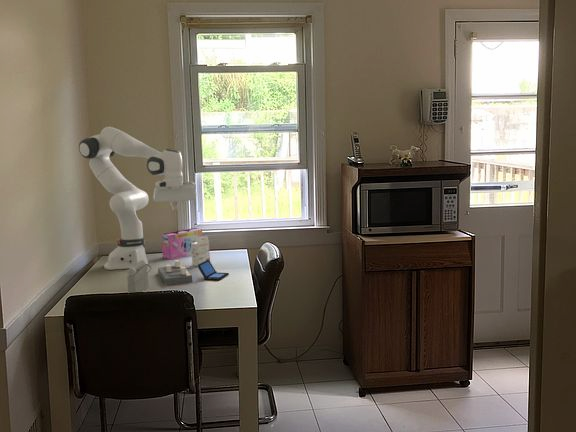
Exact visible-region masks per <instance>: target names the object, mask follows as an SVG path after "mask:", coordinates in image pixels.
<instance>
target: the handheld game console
mask: <svg viewBox="0 0 576 432" xmlns="http://www.w3.org/2000/svg"><path fill="white" fill-rule="evenodd" d="M196 267H197V268H198V270H199V272H200V273H201V275H202V276H203V281H213V282H219V281H220V280H222V279H225V278H226V277H228V276H229V275H230V274H229V272H217V270H216V269H215V267H214V265H213V263H212V262H211V260H210V261H209V260H207V261H204V262H202V263H200V264H198V265H197V266H196Z"/></svg>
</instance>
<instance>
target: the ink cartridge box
mask: <svg viewBox="0 0 576 432" xmlns="http://www.w3.org/2000/svg"><path fill="white" fill-rule="evenodd" d="M202 238H203V240H201V239H202ZM191 252H192V255H191V262H192V266H196V267H198V266H197V265H198V264H200V263H202V262H204V261H207V260H209V261H210V262H211V256H210V240H209V236H208V235H204V236H203V237H199V238H197V242H194V243H191Z"/></svg>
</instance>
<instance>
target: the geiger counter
mask: <svg viewBox="0 0 576 432" xmlns="http://www.w3.org/2000/svg"><path fill="white" fill-rule="evenodd" d="M144 264H145V262H144V261H143V260H141V261H140V262H139V263H137V264H136V265H134V267H131V268H128V270H127V277H126V278H127V289H128V290H127V291H128V293H129V292H143V291H146V290H147V289H148V288H149V289H150V284H149V273H150V272H151V271H152V266H151V265H149V263H148V264H145V265H144ZM148 267H149V268H150V269H149V270H148Z"/></svg>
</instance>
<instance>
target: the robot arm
mask: <svg viewBox="0 0 576 432" xmlns="http://www.w3.org/2000/svg"><path fill="white" fill-rule="evenodd" d="M78 151H79V154H80V155H81V157H83V158H85V159H87V160H88V159H89V162H88V166H89V168H90V170H91V172H92V173H93V175H94V176H95V178H96V179H97V180H98V181H99V182H100V184H101V185H102V187H104V189H105V190H106V191H107V192H108V193H111V194H113V195H112V196H111V197H110V199H109V207H110V209H111V211H112V212H113V213H114V214H115V215H116V217H117V219H118V222H119V226H120V236H121V238H117V239H116V241H115V242H116V243H117V247H116V248H114V250H112V251H111V252H110V253H109V255H108V259H107V262H106V263H104V265H103V268H104V270H108V271H109V270H110V271H111V270H123V269H130V268H131V267H134V265H136V264H137V263H139V262H140V261H141V260H143V261H144V262H145V264H148V265H149V260H148V258H147V254H146V249H145V247H146V241H145V237H144V231H143V230H144V229H143V221H141V220H140V219H139V218H138V215H137V213H136V212H137V211H139V210H142V209H143V208H145V207H147V205H149V202H150V201H149V200H150V198H149V194H148V193H147V192H146V191H144V190H142V189H141V188H138V187H137V186H136V185H135V184H133V183H131V181H129V180H128V179H126V178H125V176H124V175H123V174H122V173H121V172H120V171H119V169H118V168H117V167H116V166H115V165H114V164H113V162H112V161H111V159H110V157H114V155H115V154H117V155H120V156H122V157H129V158H130V157H132V158H133V157H138V158H145V159H147V162H146V170H147V172H148V173H149V174H150V175H152V176H163V175H164V178H163V179H161V180H158V181H155V183H154V184H155V187H154V189H153V202H155V203H169V205H170V206H171V211H172V212H173V211H179V210H180V209H179V207H180V205H181V202H186V201H187V202H188V201H189V202H190V201H195V200H196V196H197V195H196V189H197V188H196V183H195V182H193V181H184V175H183V157H182V153H181V151H180V150H179V149H176V148H165V149H164V150H163V151H160V150H159V149H156V148H155V147H153V146H151V145H148V144H146V143H145V142H142V141H141V140H138V139H137V138H135V137H133V136H131V135H130V134H128V133H126V132H125V131H123V130H120V129H118V128H115V127H113V126H106V127H104V128H102V130H101V131H100V133H98V134H95V135H92V136H90V137H86V138H83V139H82V140H81V141H80V142H79V143H78ZM174 202H176V203H177V204H176V206H174ZM145 264H144V265H143V266H146V265H145Z"/></svg>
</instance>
